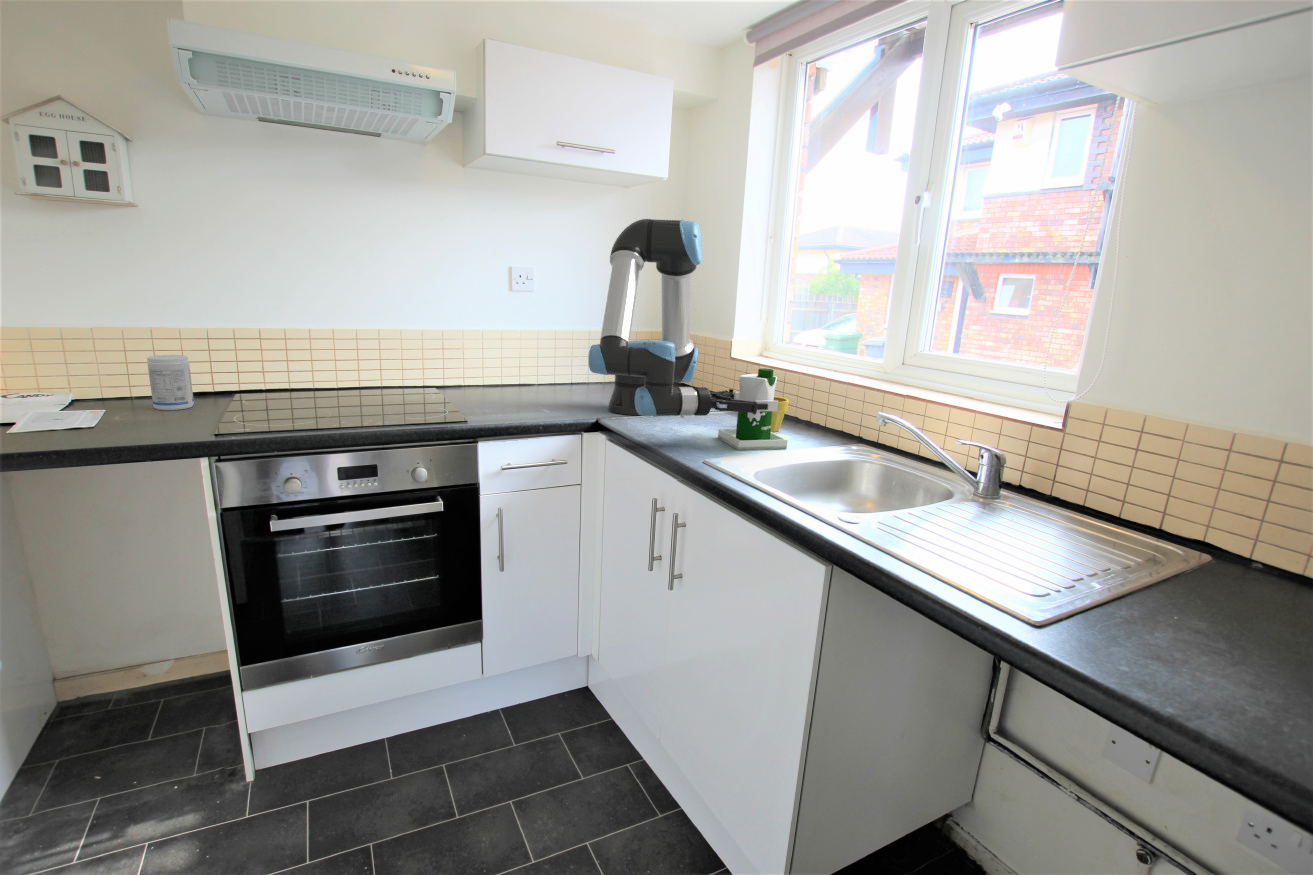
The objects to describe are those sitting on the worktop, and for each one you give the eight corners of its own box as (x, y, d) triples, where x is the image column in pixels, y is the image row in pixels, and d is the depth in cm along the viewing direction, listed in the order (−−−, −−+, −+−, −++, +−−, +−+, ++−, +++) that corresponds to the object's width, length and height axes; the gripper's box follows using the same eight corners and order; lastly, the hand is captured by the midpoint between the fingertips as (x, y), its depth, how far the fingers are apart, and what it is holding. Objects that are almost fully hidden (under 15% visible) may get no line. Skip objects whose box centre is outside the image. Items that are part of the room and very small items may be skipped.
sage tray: (718, 437, 185) (718, 429, 185) (763, 436, 189) (764, 428, 189) (738, 450, 172) (739, 441, 172) (786, 448, 176) (787, 439, 176)
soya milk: (759, 446, 174) (766, 371, 170) (730, 440, 180) (736, 367, 175) (774, 440, 181) (781, 369, 177) (745, 435, 186) (751, 365, 182)
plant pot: (785, 435, 193) (788, 402, 191) (750, 431, 195) (752, 399, 193) (785, 428, 203) (788, 397, 201) (752, 425, 205) (754, 394, 203)
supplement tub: (165, 404, 191) (159, 354, 188) (200, 404, 193) (195, 355, 190) (145, 410, 182) (138, 358, 179) (183, 411, 184) (177, 359, 180)
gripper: (677, 406, 185) (745, 406, 191) (709, 425, 162) (786, 424, 168) (678, 380, 184) (747, 380, 190) (711, 395, 160) (788, 395, 167)
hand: (766, 401), depth 179 cm, fingers open, 13 cm apart
